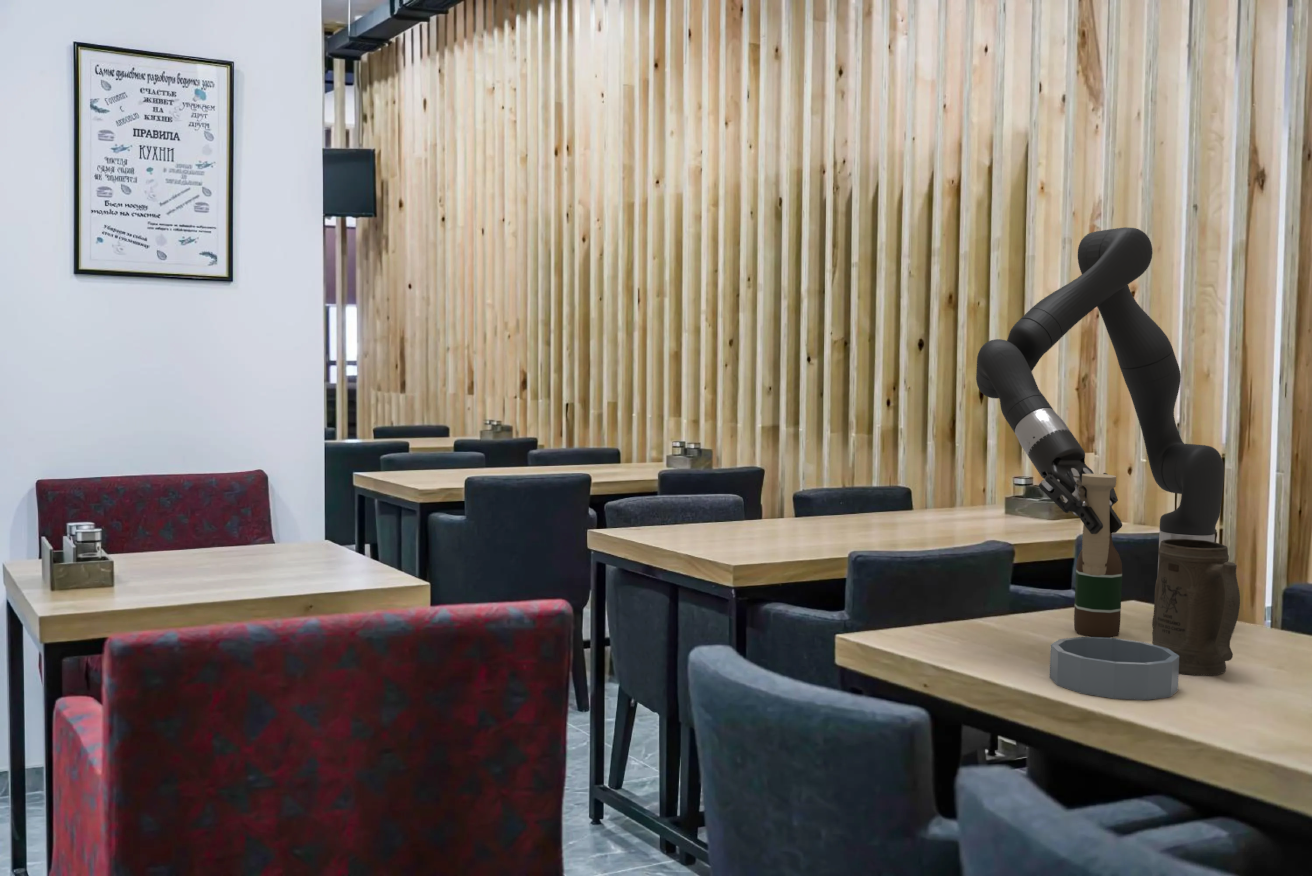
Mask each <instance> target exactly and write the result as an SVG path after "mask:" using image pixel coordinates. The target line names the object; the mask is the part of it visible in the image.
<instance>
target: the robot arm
mask: <svg viewBox="0 0 1312 876" xmlns="http://www.w3.org/2000/svg"><path fill="white" fill-rule="evenodd" d="M1152 259H1153V245H1152V242H1151V240H1150V238H1149V235H1147V234H1146V232H1144V231H1143V230H1141V229H1139V228H1136V227H1127V226H1126V227H1117V228H1109V229H1103V230H1097V231H1093V232H1089V233H1087V234H1086V235H1085V236H1084V237H1082V239H1081V241H1080V242H1079V245H1078V248H1077V262H1078V267H1079V270H1080V273H1081V275H1080V276H1078V277H1077V278H1075V279H1074V280H1071V282H1068V283H1067V284H1066V285H1063V286H1062V287H1060V288H1058V289H1057V290H1055V291H1053V292H1052V293H1050V294H1049V295H1047V296H1045V297H1044V298H1043V299H1041V300H1039V301H1038V302H1036V304H1034V305H1033V306H1032V307H1031V308H1030V309H1029V310H1028V311H1027V312H1026V313H1025V314H1024V315H1023V316H1021V318H1020V319H1019V320H1018V321H1016V322H1015V324H1013V327H1012V328H1011V329H1010V331H1009V333H1008V337H1007V340H1005V339H1001V338H1000V339H998V338H997V339H992V340H991V339H990V340H989V341H987V342H985V343H984V344H983V345H982V346H981V347H980V348H979V351H978V353H977V357H976V373H975V374H976V375H975V380H976V381H975V382H976V386H977V388H978V390H979V391H980V393H982V394H983V396H986V397H987V398H990V399H998V400H999V404H1000V411H1001V413H1002V415H1003V417H1004V419H1005V421H1006V423H1008V425H1009V427H1010V428H1011V429H1012V431H1013V433H1014V434H1015V436H1016V438H1017V440H1018V443H1019V444H1020V446H1021V448H1022V450H1023V451H1024V452H1025V454H1026V455H1027V457H1028V458H1029V460H1030V461H1031V463H1032V465H1033V466H1034V468H1035V469H1036V471H1037V472H1038V473H1039V476H1040V477H1041V478H1042V479H1043V480H1042V481H1040V483H1039V484H1038V488H1039V489H1040V490H1041V491H1042V492H1043V493H1044V494H1045V495H1046V496H1047V497H1048V498H1049V499H1050V500H1051V501H1052V502H1053V503H1054V504H1055V505H1056V506H1057V507H1058V508H1060V509H1061V511H1063V512H1064V513H1065V514H1068V513H1069V512H1071V513H1073V515H1074V516H1076V517H1078V518H1079V519H1080V521H1081V522H1082V523H1083V525H1085V527H1086V528H1087V529H1088V530H1089V532H1090V533H1091V534H1097V533H1098V532H1099V531H1100V530H1101V529H1102V528H1103V524H1102V522H1101V521H1100V519H1099V518H1098V516H1097V515H1096V513H1095V512H1094V510H1093V509H1092V508H1091V507H1088V505H1089V504H1088V501H1087V499H1086V497H1087V489H1086V488H1085V487H1084V486H1083V485H1082V474H1095V473H1094V471H1093V470H1092V469H1091V468H1090V467H1089V466H1087V463H1086V461H1085V460H1086V452H1085V450H1084V448H1083V447H1082V446H1081V444H1080V443H1079V441H1078V440H1077V438H1076V437H1075V435H1074V434H1073V432H1072V431H1071V430H1070V428H1069V427H1068V426H1067V424H1066V423H1065V422H1064V420H1063V419H1062V417H1061V416H1060V415H1058V414H1057V412H1056V411H1055V409H1054V408H1053V407H1052V406H1051V403H1049V401H1048V400H1047V399H1046V397H1045V395H1044V394H1043V393H1042V392H1041V391H1040V389H1039V387H1038V385H1037V382H1036V379H1035V377H1034V374H1033V370H1034V369H1035V367H1036V366H1037V365H1038V362H1039V361H1040V360H1041V358H1042V357H1043V356H1044V354H1046V353H1047V352H1048V351H1049V350H1051V349H1052V348H1053V346H1055V345H1056V344H1057V343H1058V342H1059V341H1060V340H1061V339H1062V337H1064V336H1065V334H1067V333H1068V332H1069V331H1070V330H1072V328H1073V327H1074V326H1075V325H1077V324H1078V323H1079V322H1080V321H1081V320H1082V319H1083V318H1085V317H1086V316H1088V315H1089V313H1091V312H1093V310H1095V309H1096V308H1097V309H1098V311H1099V313H1100V315H1101V319H1102V321H1103V323H1104V326H1105V329H1106V332H1107V334H1108V337H1109V339H1110V342H1111V344H1112V347H1113V349H1114V353H1115V355H1116V359H1117V362H1118V366H1119V368H1120V371H1121V374H1122V377H1123V380H1124V382H1125V385H1126V387H1127V389H1128V392H1129V394H1130V398H1131V400H1132V404H1133V407H1134V410H1135V413H1136V416H1137V420H1138V422H1139V427H1140V430H1141V433H1142V436H1143V437H1142V438H1143V440H1144V447H1145V451H1146V454H1147V459H1148V463H1149V466H1150V467H1149V468H1150V471H1151V474H1152V477H1153V479H1154V481H1155V483H1156V484H1157V486H1158V487H1159V488H1161V490H1163V491H1166V492H1169V493H1171V494H1178V495H1181V497H1180V503H1179V506H1177V508H1176V509H1174V510H1173V511H1170V512H1166V513H1164V514H1162V515H1161V516H1160V518H1159V519H1160V520H1159V532H1158V533H1159V534H1158V535H1159V537H1158V549H1159V548H1160V543H1161V541H1163V540H1167V539H1192V540H1205V541H1210V542H1215V539H1216V538H1215V537H1216V526H1217V524H1218V521H1219V519H1220V516H1221V509H1222V501H1223V500H1222V499H1223V493H1224V492H1223V491H1224V490H1223V489H1224V481H1225V465H1224V461H1223V460H1224V459H1223V458H1222V455H1221V453H1220V452H1219V451H1218V450H1217V449H1216V448H1214V447H1213V446H1210V445H1205V444H1193V443H1185V442H1183V440H1182V438H1181V436H1180V433H1179V430H1178V428H1177V423H1176V419H1175V407H1176V403H1177V399H1178V395H1179V391H1180V386H1181V381H1182V380H1181V379H1182V376H1181V374H1182V373H1181V369H1180V366H1179V363H1178V360H1177V357H1176V353H1175V351H1174V348H1173V346H1172V343H1171V342H1170V339H1169V338H1168V336H1167V335H1166V333H1165V332H1164V331H1163V329H1162V328H1161V327H1160V326H1159V325H1158V324H1157V323H1156V321H1154V320H1153V319H1152V318H1151V317H1150V316H1149V314H1148V313H1147V312H1145V310H1144V309H1143V308H1142V307H1141V306H1140V305H1139V304H1138V302H1137V301H1136V299H1135V297H1134V296H1133V294H1132V291H1131V290H1130V287H1129V284H1131V283H1133V282H1134V281H1135V280H1137V279H1138V278H1140V276H1142V275H1143V274H1144V273H1145V272H1146V271H1147V269H1148V268H1149V266H1150V265H1151V261H1152ZM1102 474H1107V475H1109V474H1108V473H1106V472H1103V473H1102ZM1061 497H1062V498H1063V499H1062V498H1061ZM1118 501H1119V499H1118V496H1117V493H1116V491H1115V487H1114V488H1112V489H1111V490H1110V533H1112V534H1115V533H1116V534H1117V532H1118V531H1119V530H1120V529H1121V528H1122V527H1123V523H1122V520H1121V519H1120V517H1119V516H1118V514H1117V513H1116V512H1115V510H1114V508H1113V506H1114V505H1115V504H1116V503H1117V502H1118ZM1215 543H1216V542H1215ZM1158 568H1159V556H1158V562H1157V569H1158Z"/></svg>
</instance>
